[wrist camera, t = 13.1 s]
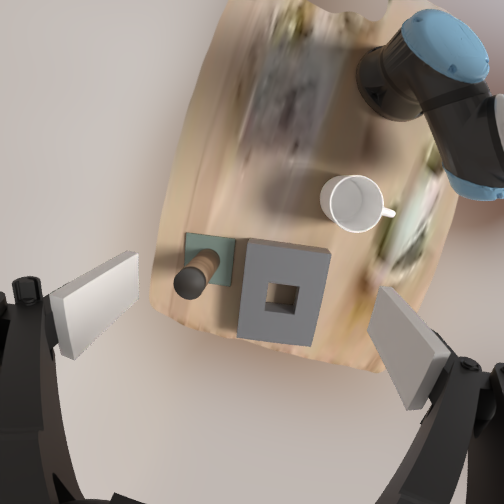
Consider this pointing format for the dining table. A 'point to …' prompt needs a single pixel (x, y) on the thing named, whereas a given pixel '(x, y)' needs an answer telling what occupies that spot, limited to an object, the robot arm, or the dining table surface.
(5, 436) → the robot arm
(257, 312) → the socket block
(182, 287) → the plug
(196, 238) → the mat
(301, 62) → the dining table surface
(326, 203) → the cup
